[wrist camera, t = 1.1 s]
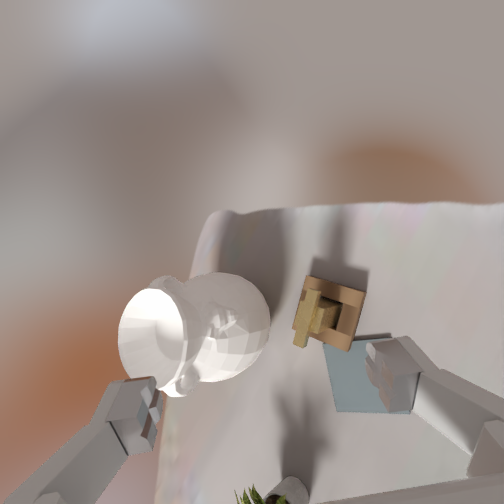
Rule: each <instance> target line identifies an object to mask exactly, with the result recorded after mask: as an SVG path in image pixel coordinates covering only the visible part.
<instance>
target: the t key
mask: <svg viewBox="0 0 504 504" xmlns="http://www.w3.org/2000/svg"><path fill="white" fill-rule="evenodd" d="M320 294H321V291H318V290H315V289H312V288H308V289H307V293H306V297H305V300H301V301H300V304H299V308H298V312H297V315H296V319H295V323H294V325H297V330H296V333H295V337H294V341H293V344H294V345H296V346H299V347H301V348H304V347H306V346H307V342H308V338H309V335H310V331H311V332H314V333H316V334H319V333H321V332H323V331H325V330H327V329H328V328H330V327H332V326H334V325H336V324H338V320H339V317H340V313H341V309H342V306H343V304H341V303H338V302H335V301H332V300H329V299H326V298H320Z"/></svg>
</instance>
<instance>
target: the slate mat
mask: <svg viewBox="0 0 504 504" xmlns="http://www.w3.org/2000/svg"><path fill="white" fill-rule="evenodd" d="M384 339H390V338H379V339H367V340H356V341H353V342H352V345H351V349H350V350H349V351H348V352H345V351H343V350H341V349H338V348H336V347H334V346H331V345H329V344H327V343H323V348H324V353H325V358H326V363H327V367H328V372H329V377H330V382H331V386H332V391H333V396H334V401H335V405H336V410H337V412H363V413H389V412H388V411H387V409H386V407H385V406H384V404H383V402H382V401H381V399H380V397H379V389H378V388H377V387H375V386H373V385H372V383H371V381H370V380H369V378H368V375H367V373H366V368H365V358H366V357H367V356H368V355H369V354H368V353H367V351H366V344H367V343H368V342H372V341H378V340H384ZM389 414H410V410H407V411H400V412H392V413H389Z"/></svg>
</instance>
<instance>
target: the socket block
mask: <svg viewBox="0 0 504 504" xmlns="http://www.w3.org/2000/svg"><path fill="white" fill-rule="evenodd" d="M308 288H312V289H315V290H318V291H321V294H320V295H321V296H324V297H327V298H330V299H333V300H336V301H339V302H342V303H343V307H342V311H341V314H340V318H339V322H338V325H337V327H335V326H332V327H330V328H328V329H327V330H325V331H323V332H321V333H319V334H316V333H314V332H311V331H310V335H309V336H310V337H313V338H315V339H317V340H320V341H322V342H324V343H327V344H329V345H331V346H334V347H336V348H338V349H341V350H343V351H345V352H348V351H349V350H350V349H351V345H352V342H353V340H354V336H355V333H356V329H357V326H358V322H359V318H360V315H361V311H362V308H363V304H364V300H365V297H366V293H367V292H363V291H360V290H357V289H353V288H350V287H346V286H343V285H340V284H336V283H333V282H330V281H326V280H323V279H320V278H316V277H313V276H306V278H305V282H304V286H303V289H302V293H301V297H300V300H299V304H300V301H301V300H305V297H306V293H307V289H308ZM299 304H298V308H299ZM298 308H297V311H296V315H297V312H298ZM296 315H295V319H296ZM295 319H294V323H295ZM294 323H293V326H292V329H294V330H297V325H294Z"/></svg>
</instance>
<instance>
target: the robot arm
mask: <svg viewBox="0 0 504 504" xmlns="http://www.w3.org/2000/svg"><path fill="white" fill-rule="evenodd" d="M366 351H367V353H368V354H369V355H368V356H367V357H366V358H365V368H366V373H367V375H368V378H369V380H370V381H371V383H372V385H373V386H375V387H377V388H378V389H379V397H380V399H381V401H382V402H383V404H384V406H385V407H386V409H387V411H388V412H389V413H392V412H400V411H407V410H413V412H415V413H416V414H417V415H418V416H420V417H421V418H422V419H424V420H425V421H426V422H428V423H429V424H430V425H431V426H433V427H434V428H435V429H437V430H438V431H439V432H441V433H442V434H443V435H444V436H446V437H447V438H448V439H450V440H451V441H452V442H453V443H455V444H456V445H457V446H459V447H460V448H461V449H463V450H464V451H465V452H466V453H468V454H469V455H470V456H472V457H471V460H470V463H469V465H468V468H467V472H466V475H467V476H468V478H466V479H460V480H454V481H448V482H442V483H436V484H431V485H425V486H419V487H413V488H407V489H401V490H395V491H389V492H383V493H377V494H371V495H365V496H359V497H353V498H347V499H341V500H335V501H329V502H323V503H317V504H504V399H503V398H501V397H499V396H497V395H495V394H493V393H491V392H489V391H487V390H485V389H483V388H481V387H479V386H477V385H475V384H473V383H471V382H469V381H467V380H465V379H463V378H461V377H459V376H457V375H455V374H453V373H451V372H449V371H447V370H445V369H441V370H439V368H438V367H437V366H436V365H435V364H434V363H433V362H432V361H431V360H430V359H429V358H428V356H427V355H426V354H425V353H424V352H423V351H422V350H421V349H420V348H419V347H418V346H417V345H416V343H415V342H414V341H413V340H412V339H411V338H410V337H408V336H403V337H397V338H390V339H384V340H378V341H372V342H368V343H367V344H366ZM156 384H157V381H156V379H155V377H154V376H147V377H140V378H132V379H125V380H118V381H112V382H111V383H110V384H109V385H108V387H107V389H106V391H105V393H104V395H103V397H102V399H101V401H100V403H99V406H98V407H97V409H96V411H95V413H94V415H93V417H92V419H91V421H90V423H89V425H87V426H84V427H83V428H82V429H81V430H80V431H78V432H77V433H76V434H75V435H74V436H73V437H72V438H71V439H70V440H69V441H68V442H66V443H65V444H64V445H63V446H62V447H61V448H60V449H59V450H58V451H57V452H56V453H55V454H54V455H52V456H51V457H50V458H49V460H47V461H46V462H45V463H44V464H43V465H42V466H41V467H40V468H39V469H37V470H36V471H35V472H34V473H33V474H32V475H31V476H30V477H29V478H28V479H27V480H26V481H25V482H23V483H22V484H21V485H20V486H19V487H18V488H17V489H16V490H15V491H14V492H13V493H12V494H11V495H10V496H8V497H7V498H6V500H5V501H4V503H3V504H95V502H96V501H97V500H98V498H99V497H100V495H101V494H102V493H103V491H104V490H105V488H106V487H107V486H108V484H109V483H110V482H111V480H112V479H113V477H114V476H115V475H116V473H117V472H118V470H119V469H120V468H121V466H122V465H123V463H124V462H125V461H126V459H127V458H128V456H129V455H134V454H140V453H145V452H150V451H153V447H154V443H155V439H156V435H157V429H156V426H155V424H156V423H157V422H158V421H159V420H160V418H161V414H162V407H163V400H162V394H161V392H160V390H158V389H157V388H156Z"/></svg>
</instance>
